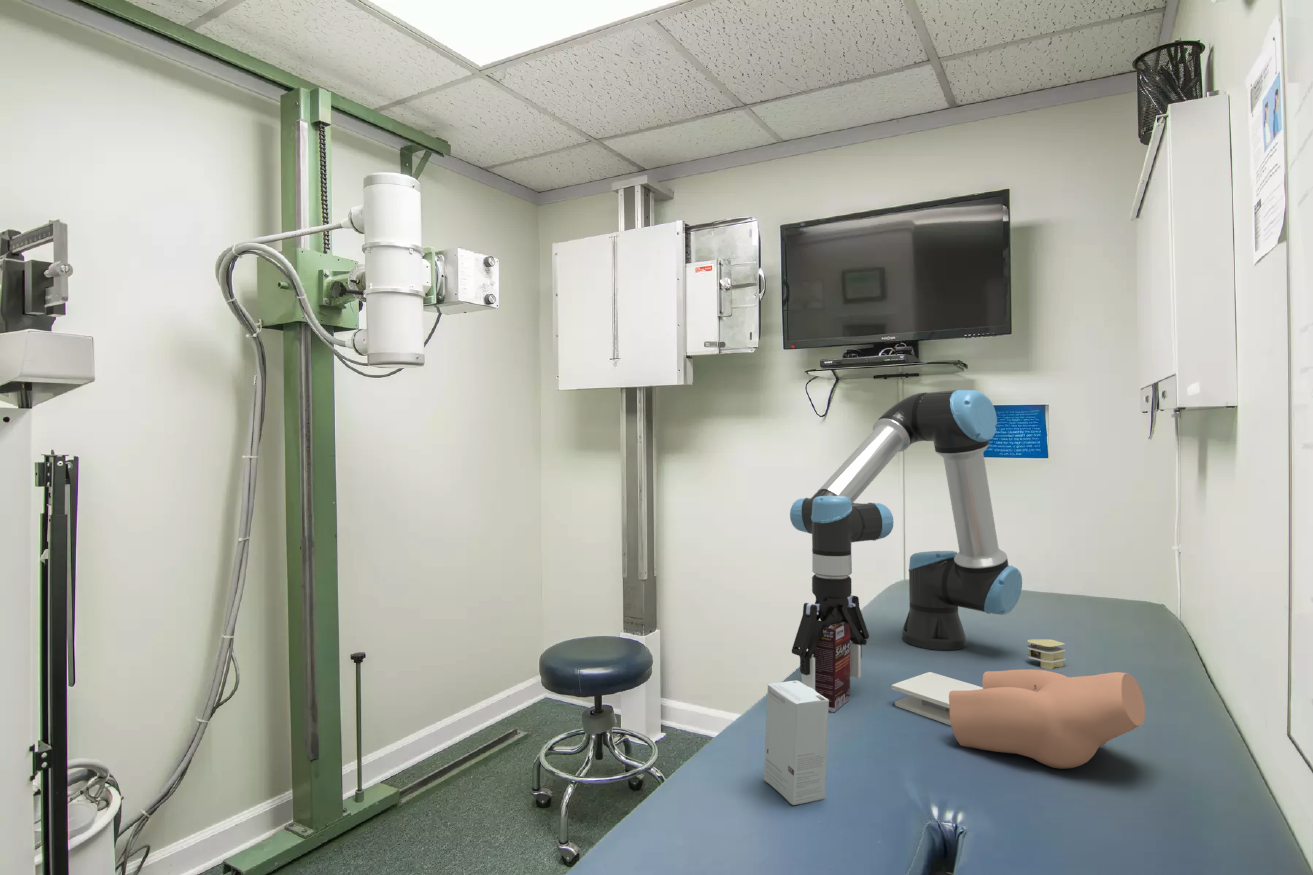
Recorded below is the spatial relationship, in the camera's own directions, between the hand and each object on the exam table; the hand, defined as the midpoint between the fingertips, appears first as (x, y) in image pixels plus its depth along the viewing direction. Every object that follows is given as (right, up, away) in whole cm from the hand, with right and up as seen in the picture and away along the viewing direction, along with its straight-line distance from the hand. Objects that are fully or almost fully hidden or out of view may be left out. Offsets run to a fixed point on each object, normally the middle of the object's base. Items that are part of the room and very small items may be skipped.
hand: (831, 683), depth 136 cm
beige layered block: (+55, -5, +23) cm, 60 cm away
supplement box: (0, -4, 0) cm, 4 cm away
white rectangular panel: (+20, -4, -2) cm, 21 cm away
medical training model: (+31, -4, -21) cm, 37 cm away
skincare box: (-14, -4, -34) cm, 37 cm away
